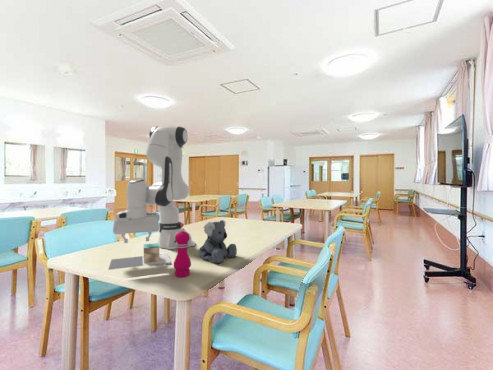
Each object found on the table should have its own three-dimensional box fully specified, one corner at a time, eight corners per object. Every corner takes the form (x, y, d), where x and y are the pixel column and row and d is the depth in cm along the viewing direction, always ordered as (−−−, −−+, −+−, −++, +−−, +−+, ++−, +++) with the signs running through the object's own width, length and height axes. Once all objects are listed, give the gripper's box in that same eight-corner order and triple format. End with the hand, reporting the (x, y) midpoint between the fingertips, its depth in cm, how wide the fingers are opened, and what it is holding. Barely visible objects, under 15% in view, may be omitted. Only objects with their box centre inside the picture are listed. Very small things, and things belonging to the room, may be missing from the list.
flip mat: (167, 255, 135) (167, 253, 135) (171, 264, 121) (171, 262, 121) (111, 261, 124) (111, 259, 124) (108, 271, 111) (108, 269, 111)
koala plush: (218, 265, 120) (218, 224, 119) (191, 258, 130) (191, 220, 129) (239, 256, 134) (239, 219, 134) (213, 250, 144) (213, 216, 144)
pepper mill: (175, 271, 112) (175, 226, 111) (192, 271, 112) (192, 226, 112) (172, 278, 104) (172, 229, 104) (189, 277, 105) (189, 229, 104)
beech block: (143, 244, 126) (143, 258, 126) (143, 248, 120) (143, 262, 120) (158, 243, 129) (158, 256, 129) (159, 246, 122) (159, 260, 123)
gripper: (159, 211, 128) (159, 238, 129) (113, 213, 120) (113, 242, 121) (160, 213, 123) (160, 241, 123) (112, 215, 114) (112, 245, 115)
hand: (136, 241), depth 122 cm, fingers open, 8 cm apart
